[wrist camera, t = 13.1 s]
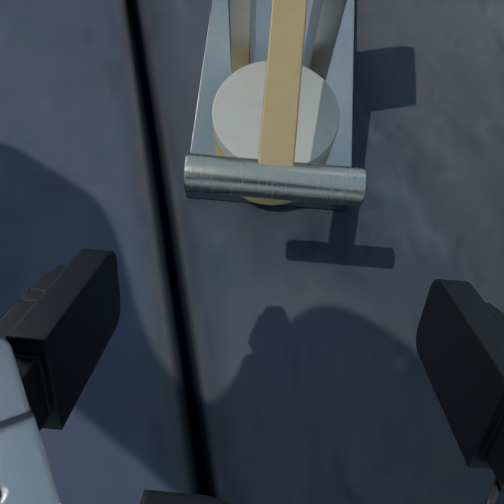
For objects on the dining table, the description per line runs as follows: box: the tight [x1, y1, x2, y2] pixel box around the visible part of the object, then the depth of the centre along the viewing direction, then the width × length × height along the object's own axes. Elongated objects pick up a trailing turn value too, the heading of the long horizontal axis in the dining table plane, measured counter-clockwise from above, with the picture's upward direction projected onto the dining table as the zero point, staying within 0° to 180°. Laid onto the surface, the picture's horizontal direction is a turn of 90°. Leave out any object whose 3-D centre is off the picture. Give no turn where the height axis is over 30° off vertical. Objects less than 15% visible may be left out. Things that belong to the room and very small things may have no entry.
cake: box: [212, 60, 340, 205], centre depth 22 cm, size 6×6×4 cm
